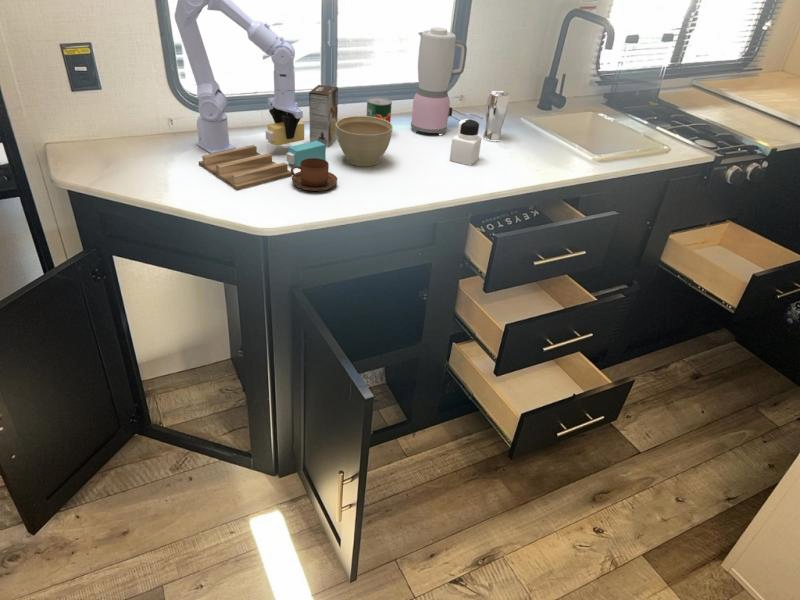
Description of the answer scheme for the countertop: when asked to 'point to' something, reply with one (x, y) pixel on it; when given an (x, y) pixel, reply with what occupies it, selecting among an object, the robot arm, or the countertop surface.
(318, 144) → the teal plug block
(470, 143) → the medicine bottle
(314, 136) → the coffee box
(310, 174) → the cup and saucer
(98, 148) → the countertop surface
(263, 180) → the comb board
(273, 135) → the ochre plug block
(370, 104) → the canned tomato
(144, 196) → the countertop surface
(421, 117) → the blender
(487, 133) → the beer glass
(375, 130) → the planter bowl
